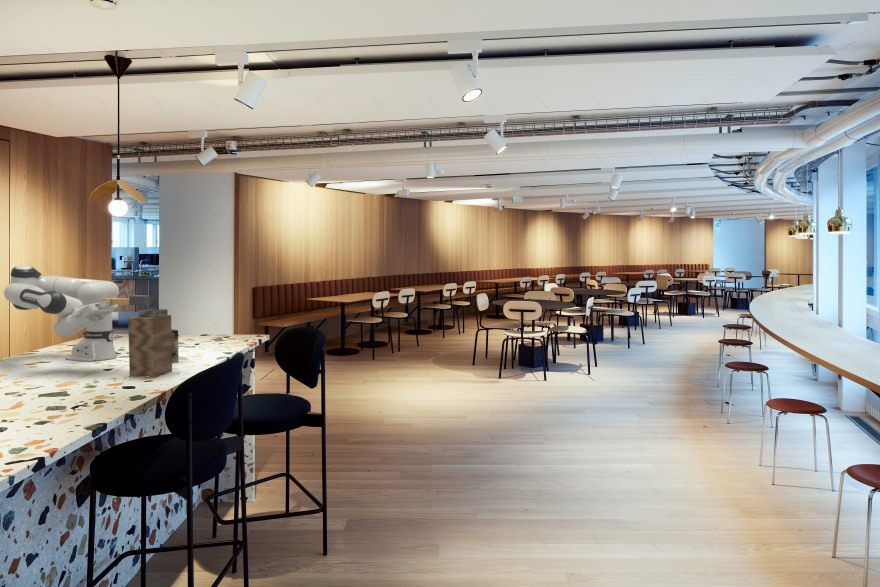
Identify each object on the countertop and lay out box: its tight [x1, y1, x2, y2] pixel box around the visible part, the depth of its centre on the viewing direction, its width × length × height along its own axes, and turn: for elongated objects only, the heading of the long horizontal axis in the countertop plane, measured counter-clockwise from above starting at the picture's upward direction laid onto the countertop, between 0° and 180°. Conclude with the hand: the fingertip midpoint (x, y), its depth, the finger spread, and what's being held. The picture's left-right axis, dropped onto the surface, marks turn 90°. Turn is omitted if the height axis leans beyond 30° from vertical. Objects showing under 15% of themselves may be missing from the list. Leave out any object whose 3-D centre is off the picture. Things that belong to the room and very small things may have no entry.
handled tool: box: [103, 294, 152, 306], centre depth 270 cm, size 20×5×4 cm, turn 87°
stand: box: [127, 308, 173, 378], centre depth 270 cm, size 12×14×29 cm
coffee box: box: [171, 328, 180, 364], centre depth 296 cm, size 9×6×16 cm
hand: (113, 300), depth 270 cm, fingers closed on handled tool, 3 cm apart
